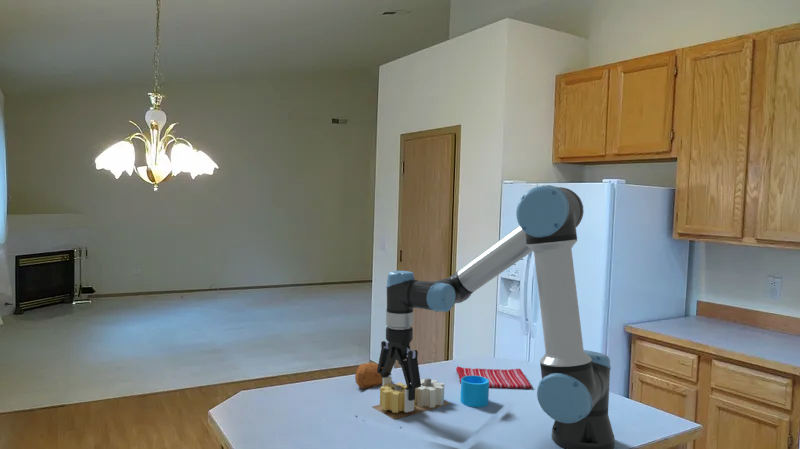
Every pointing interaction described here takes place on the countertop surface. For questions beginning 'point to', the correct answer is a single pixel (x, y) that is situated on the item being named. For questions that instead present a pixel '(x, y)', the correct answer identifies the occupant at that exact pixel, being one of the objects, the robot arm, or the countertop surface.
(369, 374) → the potato
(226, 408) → the countertop surface
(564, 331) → the robot arm
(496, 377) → the dish towel
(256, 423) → the countertop surface
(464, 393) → the mug
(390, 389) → the ochre gear
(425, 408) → the walnut board
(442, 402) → the cream gear
